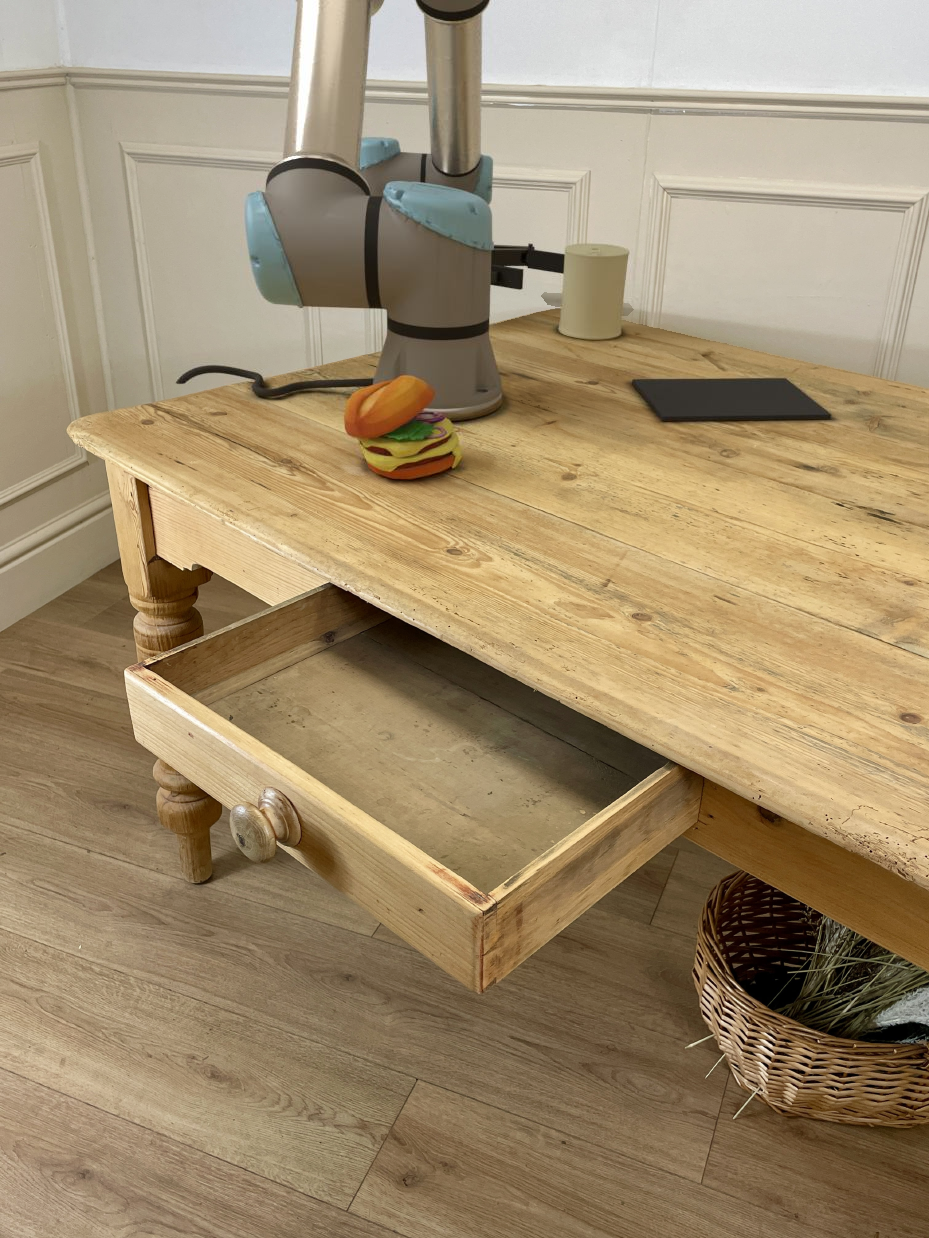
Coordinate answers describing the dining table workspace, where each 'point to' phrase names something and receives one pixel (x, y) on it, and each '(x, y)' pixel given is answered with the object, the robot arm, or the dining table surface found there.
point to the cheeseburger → (401, 429)
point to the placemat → (728, 399)
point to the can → (593, 291)
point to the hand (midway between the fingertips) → (545, 271)
